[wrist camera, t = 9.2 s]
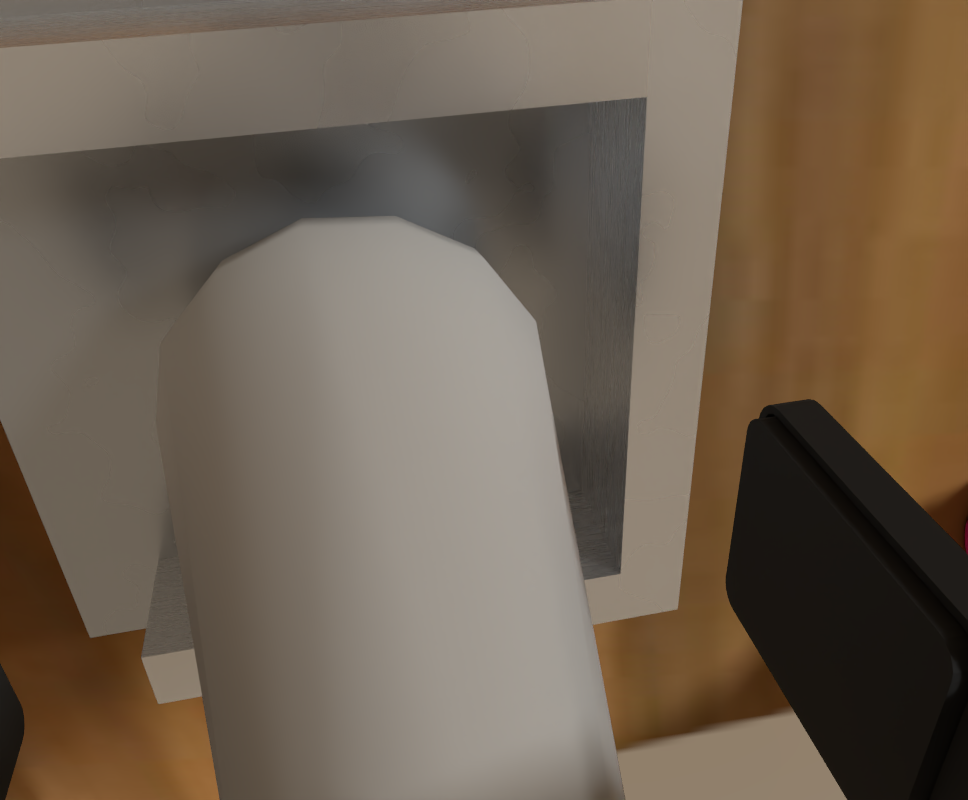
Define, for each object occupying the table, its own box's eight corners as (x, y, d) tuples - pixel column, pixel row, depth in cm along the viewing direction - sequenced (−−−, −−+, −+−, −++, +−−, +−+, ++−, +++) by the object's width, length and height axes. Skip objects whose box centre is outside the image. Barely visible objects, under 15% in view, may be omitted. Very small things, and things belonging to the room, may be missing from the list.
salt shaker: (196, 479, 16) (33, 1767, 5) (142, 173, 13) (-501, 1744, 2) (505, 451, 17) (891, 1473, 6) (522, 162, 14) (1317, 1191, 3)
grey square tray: (-151, -37, 13) (-374, 18, 9) (638, -87, 15) (791, -63, 11) (77, 546, 20) (16, 751, 15) (613, 462, 22) (701, 624, 17)
